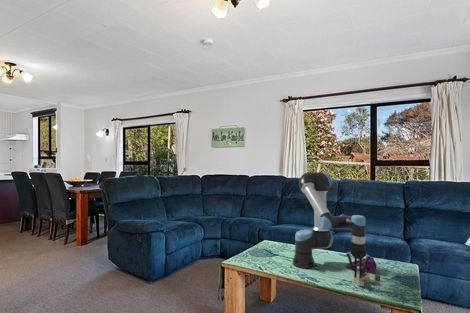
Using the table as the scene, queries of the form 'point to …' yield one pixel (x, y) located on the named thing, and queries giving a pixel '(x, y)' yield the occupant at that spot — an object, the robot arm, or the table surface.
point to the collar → (363, 279)
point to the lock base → (376, 277)
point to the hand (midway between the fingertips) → (357, 283)
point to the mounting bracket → (370, 265)
